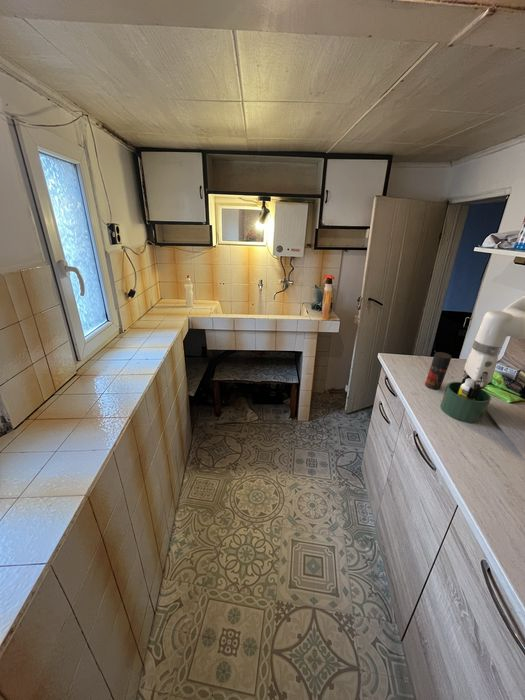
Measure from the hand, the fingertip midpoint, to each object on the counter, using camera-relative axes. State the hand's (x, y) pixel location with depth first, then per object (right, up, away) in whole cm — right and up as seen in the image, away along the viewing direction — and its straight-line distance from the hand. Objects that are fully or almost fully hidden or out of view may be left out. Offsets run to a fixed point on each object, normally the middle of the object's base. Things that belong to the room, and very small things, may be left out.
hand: (468, 392), depth 102 cm
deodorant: (-1, 0, +20) cm, 20 cm away
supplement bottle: (0, -5, +2) cm, 5 cm away
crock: (0, -8, +4) cm, 8 cm away
